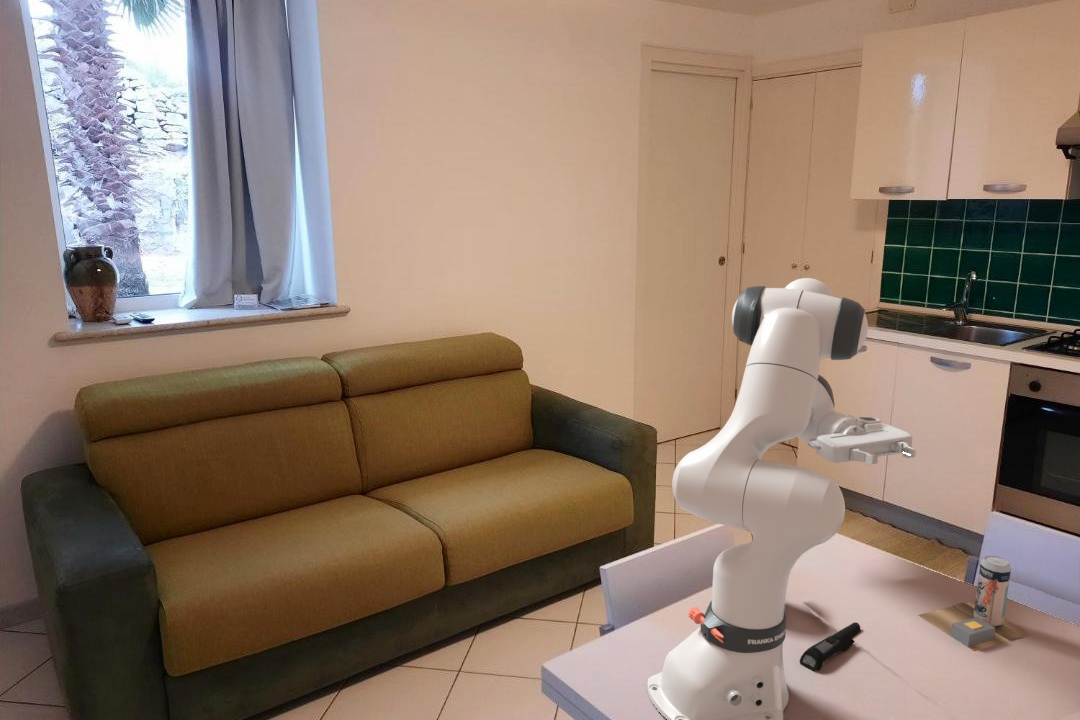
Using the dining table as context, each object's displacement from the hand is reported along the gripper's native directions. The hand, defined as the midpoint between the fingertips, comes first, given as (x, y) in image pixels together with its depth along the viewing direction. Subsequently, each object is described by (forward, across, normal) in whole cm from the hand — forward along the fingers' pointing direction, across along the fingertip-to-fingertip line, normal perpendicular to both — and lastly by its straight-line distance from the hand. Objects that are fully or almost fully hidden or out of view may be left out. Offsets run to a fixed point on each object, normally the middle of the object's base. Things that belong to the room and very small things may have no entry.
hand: (894, 457), depth 147 cm
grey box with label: (+21, 0, +26) cm, 34 cm away
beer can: (+18, +7, +26) cm, 33 cm away
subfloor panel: (+18, +4, +28) cm, 34 cm away
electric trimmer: (+14, -24, +28) cm, 40 cm away
